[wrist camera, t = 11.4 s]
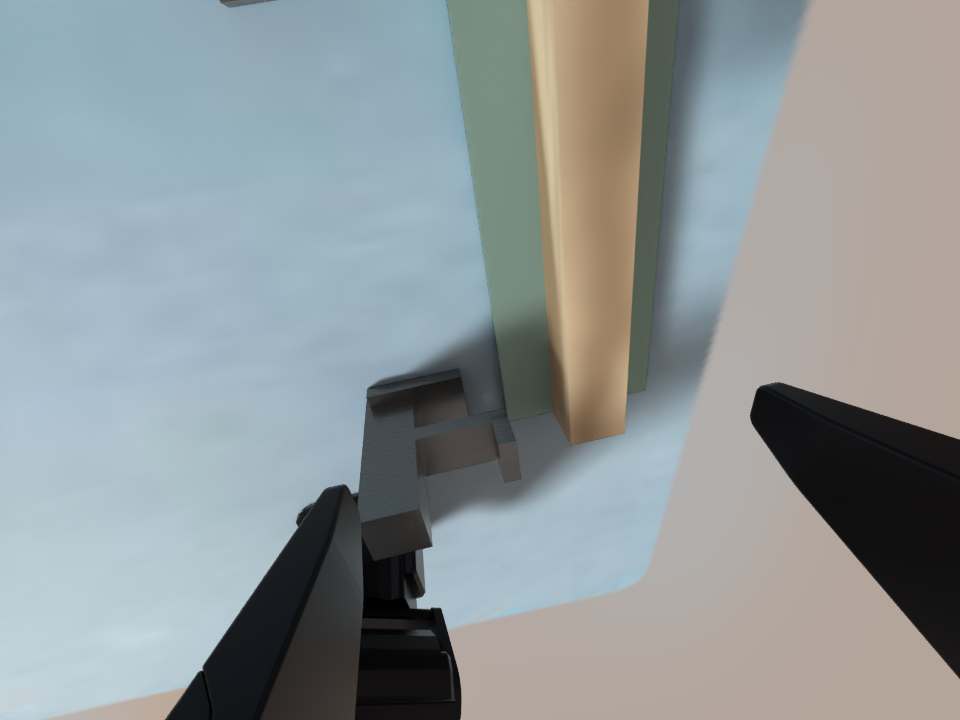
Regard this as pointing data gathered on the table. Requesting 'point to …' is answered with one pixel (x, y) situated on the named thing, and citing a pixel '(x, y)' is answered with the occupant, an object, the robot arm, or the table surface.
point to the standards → (418, 450)
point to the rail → (588, 198)
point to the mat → (515, 193)
